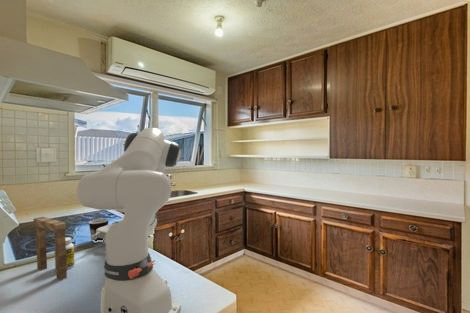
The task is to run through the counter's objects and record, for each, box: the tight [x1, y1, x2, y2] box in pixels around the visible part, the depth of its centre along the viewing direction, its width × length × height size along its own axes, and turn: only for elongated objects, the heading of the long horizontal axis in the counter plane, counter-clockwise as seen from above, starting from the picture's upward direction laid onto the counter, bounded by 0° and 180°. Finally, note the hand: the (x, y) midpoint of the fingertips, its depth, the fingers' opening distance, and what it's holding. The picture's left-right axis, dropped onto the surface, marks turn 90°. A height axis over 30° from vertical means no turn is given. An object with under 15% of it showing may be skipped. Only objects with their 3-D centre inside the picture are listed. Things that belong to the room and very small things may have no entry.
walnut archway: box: [33, 216, 68, 281], centre depth 93 cm, size 18×3×20 cm, turn 59°
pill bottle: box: [54, 236, 76, 270], centre depth 97 cm, size 6×6×11 cm
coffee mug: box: [88, 218, 109, 241], centre depth 124 cm, size 12×9×10 cm
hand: (97, 239), depth 108 cm, fingers open, 8 cm apart
